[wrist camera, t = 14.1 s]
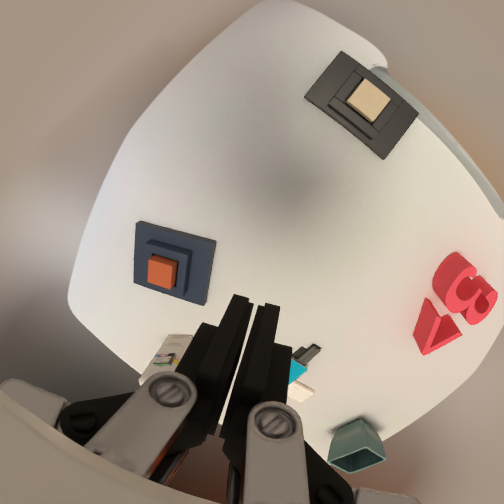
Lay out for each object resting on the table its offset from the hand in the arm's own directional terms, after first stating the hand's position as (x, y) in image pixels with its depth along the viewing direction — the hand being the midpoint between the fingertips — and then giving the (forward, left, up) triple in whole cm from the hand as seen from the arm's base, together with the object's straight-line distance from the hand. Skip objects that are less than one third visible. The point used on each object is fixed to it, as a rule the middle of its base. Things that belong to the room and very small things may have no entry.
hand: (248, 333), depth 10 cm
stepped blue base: (-14, -13, -27) cm, 33 cm away
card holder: (+7, -30, -27) cm, 41 cm away
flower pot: (+26, -40, -27) cm, 55 cm away
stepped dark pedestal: (+6, +14, -27) cm, 31 cm away
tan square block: (+6, +14, -25) cm, 29 cm away
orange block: (-14, -13, -25) cm, 31 cm away
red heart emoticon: (+27, -8, -27) cm, 39 cm away
